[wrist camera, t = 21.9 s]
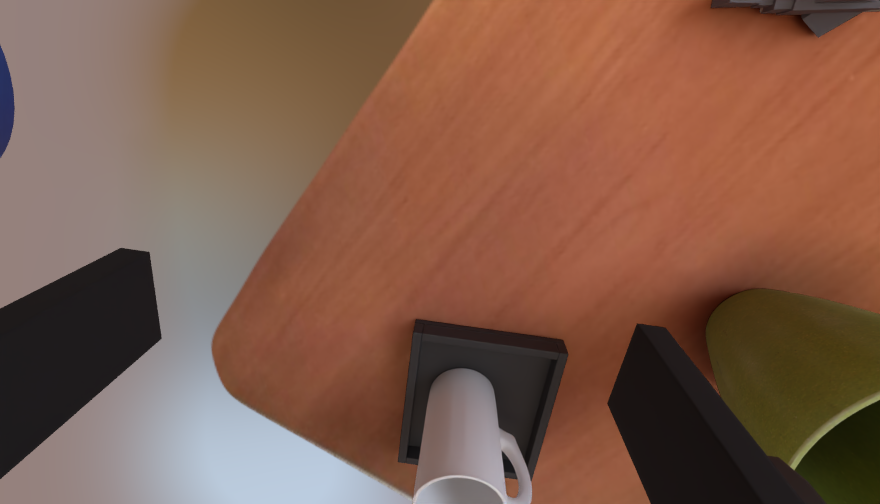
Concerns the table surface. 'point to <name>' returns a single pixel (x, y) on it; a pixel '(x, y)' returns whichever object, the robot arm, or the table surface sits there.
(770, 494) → the robot arm
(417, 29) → the table surface
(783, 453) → the flower pot
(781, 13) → the animal figurine
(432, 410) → the mug
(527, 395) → the tray
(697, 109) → the table surface
